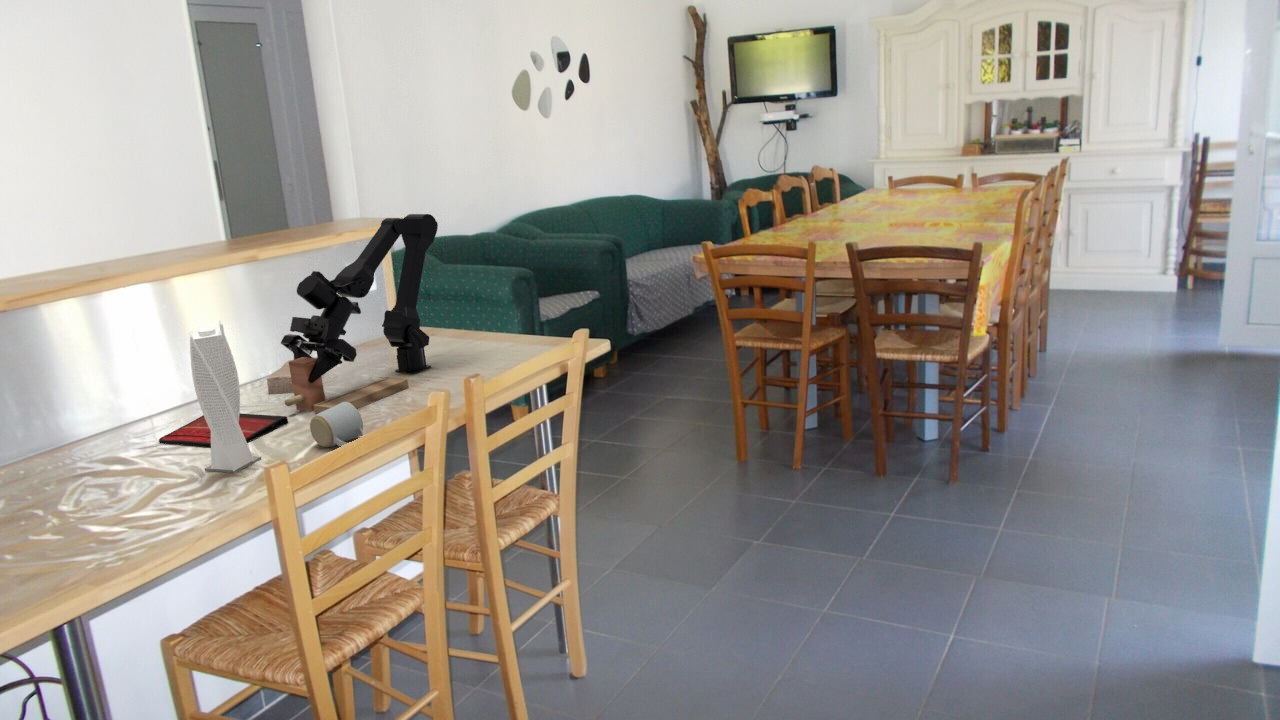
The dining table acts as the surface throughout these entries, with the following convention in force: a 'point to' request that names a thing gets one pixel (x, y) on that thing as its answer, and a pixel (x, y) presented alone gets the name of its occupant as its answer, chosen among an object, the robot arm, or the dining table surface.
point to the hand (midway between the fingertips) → (301, 381)
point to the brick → (281, 380)
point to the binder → (201, 432)
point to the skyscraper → (219, 399)
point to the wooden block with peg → (304, 385)
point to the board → (365, 394)
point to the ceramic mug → (337, 425)
